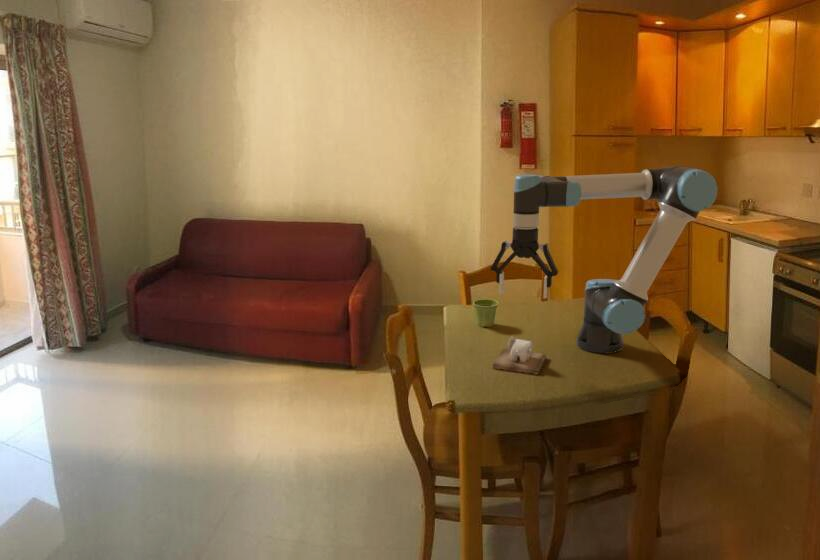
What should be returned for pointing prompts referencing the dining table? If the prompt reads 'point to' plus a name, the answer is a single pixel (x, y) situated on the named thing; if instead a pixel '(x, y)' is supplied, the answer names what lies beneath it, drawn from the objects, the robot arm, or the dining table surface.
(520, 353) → the elephant figurine
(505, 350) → the folded cloth
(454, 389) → the dining table surface
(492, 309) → the plant pot
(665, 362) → the dining table surface
